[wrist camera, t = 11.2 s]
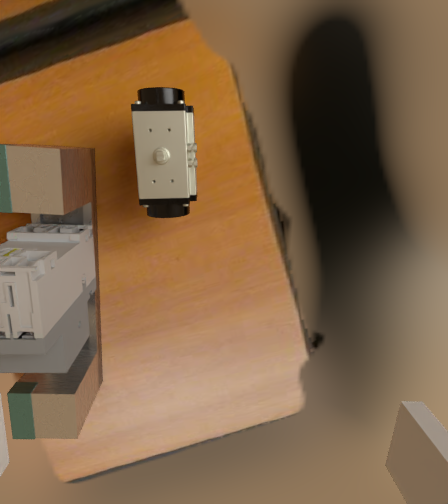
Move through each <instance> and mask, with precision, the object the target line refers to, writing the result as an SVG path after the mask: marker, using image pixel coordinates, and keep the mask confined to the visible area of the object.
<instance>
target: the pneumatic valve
mask: <svg viewBox="0 0 448 504" xmlns="http://www.w3.org/2000/svg"><path fill="white" fill-rule="evenodd" d="M137 93H138V101H135V104H131V110H132V122H133V134H134V146H135V157H136V169H137V181H138V193H139V204H140V205H143V207H147V215H148V216H150V217H155V218H173V217H181V216H185V215H188V214H189V213H190V207H189V204H190V201H197V180H196V167H197V159H196V154H195V153H196V152H197V144H196V143H195V129H194V108H193V106H186V105H185V97H184V91H183V90H181V89H177V88H164V87H155V88H144V89H140V90H138V91H137Z"/></svg>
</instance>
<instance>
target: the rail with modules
mask: <svg viewBox="0 0 448 504" xmlns="http://www.w3.org/2000/svg"><path fill="white" fill-rule="evenodd" d="M0 212H3V213H13V212H17V213H31V220H32V224H65V225H93V229H90V236H93V241H94V256H95V272H96V287H97V288H96V290H95V292H94V293H93V294H92V295H90V298H89V300H88V301H87V304H88V319H89V333H90V335H89V337H88V339H87V340H86V342H85V344H84V345H83V347H82V349H81V350H80V352H79V354H78V355H77V357H76V358H75V360H74V362H73V363H72V365H71V367H70V368H69V370H68V371H67V373H24V375H23V376H22V377H21V378H20V380H19V381H18V382H16V383H15V384H14V386H13V387H12V388H11V389H10V391H9V392H8V393H7V395H8V403H9V411H10V420H11V427H12V435H13V439H35V438H60V439H78V436H79V434H80V432H81V430H82V427H83V425H84V423H85V420H86V418H87V416H88V413H89V411H90V409H91V407H92V404H93V402H94V400H95V397H96V395H97V393H98V391H99V388H100V386H101V384H102V381H103V377H102V348H101V320H100V291H99V263H98V234H97V206H96V177H95V148H80V147H65V146H50V145H35V144H0ZM43 228H46V227H43ZM70 229H71V228H70ZM82 230H83V229H80V231H82Z"/></svg>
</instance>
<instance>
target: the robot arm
mask: <svg viewBox="0 0 448 504" xmlns="http://www.w3.org/2000/svg"><path fill="white" fill-rule="evenodd" d="M8 463H9V456H8V447H7V440H6V432H5V424H4V417H3V408H2V402H1V393H0V476H1V475H2V473H3V471H4V470H5V468H6V467H7V465H8ZM386 467H387V469H388V471H389V473H390V475H391V476H392V478H393V480H394V482H395V483H396V485H397V487H398V489H399V490H400V492H401V494H402V496H403V497H404V499H405V501H406V503H407V504H448V431H447V430H446V429H445V428H444V426H443V425H442V424H441V423H440V422H439V421H438V419H437V418H436V417H435V416H434V415H433V414H432V412H431V411H430V410H429V409H428V408H427V407H426V405H425V404H424V403H423V402H408V401H406V402H405V401H401V403H400V407H399V411H398V415H397V419H396V424H395V428H394V432H393V436H392V440H391V444H390V448H389V452H388V456H387V460H386Z"/></svg>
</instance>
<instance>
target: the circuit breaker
mask: <svg viewBox="0 0 448 504" xmlns="http://www.w3.org/2000/svg"><path fill="white" fill-rule="evenodd" d="M43 227H46V228H43ZM70 228H71V229H70ZM80 229H83V230H82V231H80ZM90 229H93V225H65V224H30V223H28V224H26V226H21V227H18V228H16V229H14V230H11V231H9V232H7V239H8V241H7V242H4V243H2V244H0V373H67V371H68V370H69V368H70V367H71V365H72V363H73V362H74V360H75V358H76V357H77V355H78V354H79V352H80V350H81V349H82V347H83V345H84V344H85V342H86V340H87V339H88V337H89V335H90V333H89V319H88V304H87V301H88V300H89V298H90V295H92V294H93V293H94V292H95V290H96V288H97V287H96V272H95V256H94V241H93V236H90Z"/></svg>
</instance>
